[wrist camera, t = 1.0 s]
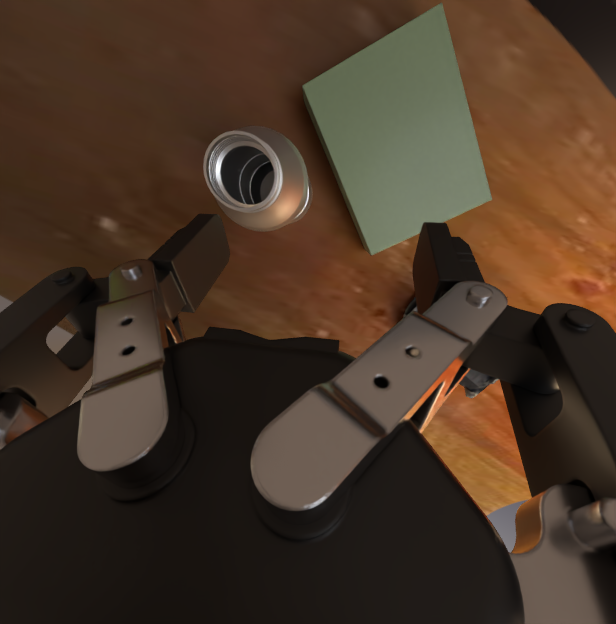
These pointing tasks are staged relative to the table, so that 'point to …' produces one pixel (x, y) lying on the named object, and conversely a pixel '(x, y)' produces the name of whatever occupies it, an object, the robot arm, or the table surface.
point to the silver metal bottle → (258, 178)
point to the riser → (400, 133)
